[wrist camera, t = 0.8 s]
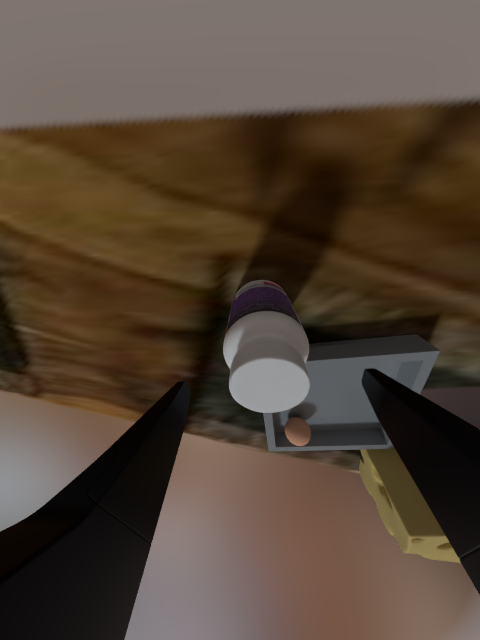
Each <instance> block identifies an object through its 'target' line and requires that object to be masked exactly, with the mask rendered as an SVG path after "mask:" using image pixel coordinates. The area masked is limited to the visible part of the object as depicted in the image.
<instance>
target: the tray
mask: <svg viewBox="0 0 480 640" xmlns="http://www.w3.org/2000/svg"><path fill="white" fill-rule="evenodd" d="M439 353H440V350H439V349H437V348H436V347H434V346H433V345H431V344H430V343H428V342H427V341H425V340H424V339H423V338H421V337H420V336H418V335H417V334H412V335H401V336H390V337H379V338H368V339H357V340H346V341H335V342H324V343H312V344H309V355H308V358H307V361H306V363H305V365H306V369H307V372H308V376H309V379H310V388H309V392H308V394H307V396H306V397H305V399H304V400H303V401H302V402H301V403H299V404H298V405H296V406H295V407H293V408H291V409H288V410H285V411H281V412H274V413H263V415H264V421H265V428H266V435H267V442H268V448H269V451H309V450H357V449H394V446H393V444H392V443H391V441H390V439H389V438H388V436H387V434H386V432H385V431H384V429H383V427H382V426H381V424H380V422H379V420H378V418H377V417H376V414H375V412H374V410H373V408H372V406H371V404H370V401H369V399H368V397H367V395H366V393H365V390H364V388H363V386H362V377H363V372H364V370H365V369H368V368H375V369H377V370H379V371H380V372H382V373H384V374H386V375H387V376H389V377H391V378H392V379H394V380H396V381H398V382H399V383H401V384H403V385H404V386H406V387H408V388H410V389H411V390H413V391H415V392H416V393H418V394H420V393H421V391H422V389H423V386H424V384H425V382H426V380H427V378H428V376H429V374H430V372H431V369H432V367H433V365H434V363H435V361H436V359H437V357H438V355H439ZM292 417H300V418H302V419H304V420H305V421H306V422H307V423H308V425H309V427H310V429H311V438H310V440H309V442H308V443H307V444H306V445H304V446H296V445H294V444H292V443H291V442H290V441H289V440H288V438H287V436H286V434H285V424H286V422H287V421H288V420H289V419H290V418H292Z"/></svg>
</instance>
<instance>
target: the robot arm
mask: <svg viewBox="0 0 480 640" xmlns="http://www.w3.org/2000/svg"><path fill="white" fill-rule="evenodd" d="M362 386H363V388H364V390H365V393H366V395H367V397H368V399H369V401H370V404H371V406H372V408H373V410H374V412H375V414H376V417H377V418H378V420H379V422H380V424H381V426H382V427H383V429H384V431H385V432H386V434H387V436H388V438H389V439H390V441H391V443H392V444H393V446H394V448H395V450H396V451H397V453H398V455H399V456H400V458H401V460H402V462H403V463H404V465H405V467H406V469H407V470H408V472H409V474H410V475H411V477H412V479H413V481H414V482H415V484H416V486H417V487H418V489H419V491H420V493H421V494H422V496H423V498H424V499H425V501H426V503H427V505H428V506H429V508H430V510H431V512H432V513H433V515H434V517H435V518H436V520H437V522H438V524H439V525H440V527H441V529H442V530H443V532H444V534H445V536H446V537H447V539H448V541H449V542H450V544H451V546H452V548H453V549H454V551H455V553H456V555H457V556H458V558H460V562H461V563H462V565H463V567H464V569H465V570H466V572H467V574H468V575H469V577H470V579H471V580H472V582H473V584H474V586H475V588H476V589H477V591H478V593H479V594H480V430H479V429H478V428H476V427H475V426H473V425H471V424H470V423H468V422H466V421H464V420H463V419H461V418H459V417H458V416H456V415H454V414H452V413H451V412H449V411H447V410H445V409H444V408H442V407H440V406H439V405H437V404H435V403H434V402H432V401H430V400H428V399H427V398H425V397H423V396H422V395H420V394H418V393H416V392H415V391H413V390H411V389H410V388H408V387H406V386H404V385H403V384H401V383H399V382H398V381H396V380H394V379H392V378H391V377H389V376H387V375H386V374H384V373H382V372H380V371H379V370H377V369H375V368H368V369H365V370H364V372H363V377H362ZM189 401H190V390H189V388H188V385H187V383H186V382H185V381H181V382H177V383H176V384H175V385H174V386H173V387H172V388H171V389H170V390H169V391H168V392H167V393H166V394H165V395H164V396H163V397H162V398H161V399H159V400H158V401H157V402H156V403H155V404H154V405H153V406H152V407H151V408H150V409H149V410H148V411H147V412H146V413H145V414H144V415H143V416H142V417H141V418H140V419H139V420H138V421H137V422H136V423H135V424H134V425H133V426H132V427H130V428H129V429H128V430H127V431H126V432H125V433H124V434H123V435H122V436H121V437H120V438H119V439H118V440H117V441H116V442H115V443H114V444H113V445H112V446H111V447H110V448H109V449H108V450H107V451H105V452H104V453H103V454H102V455H101V456H100V457H99V458H98V459H97V460H96V461H95V462H94V463H92V464H91V465H90V466H89V467H88V468H87V469H86V470H84V471H83V472H82V473H81V474H80V475H79V476H77V477H76V478H75V479H74V480H73V481H72V482H71V483H69V484H68V485H67V486H66V487H65V488H64V489H63V490H61V491H60V492H59V493H58V494H57V495H55V496H54V497H53V498H52V499H51V500H50V501H48V502H47V503H46V504H45V505H44V506H42V507H41V508H40V509H39V510H37V511H36V512H35V513H33V514H32V515H30V516H29V517H27V518H25V519H24V520H22V521H20V522H19V523H17V524H15V525H13V526H11V527H9V528H7V529H5V530H3V531H1V532H0V640H124V638H125V635H126V631H127V628H128V624H129V621H130V617H131V614H132V610H133V606H134V603H135V599H136V596H137V593H138V589H139V585H140V582H141V579H142V575H143V571H144V568H145V565H146V561H147V557H148V554H149V551H150V547H151V542H152V540H153V536H154V532H155V529H156V526H157V522H158V518H159V515H160V511H161V508H162V504H163V501H164V497H165V494H166V490H167V486H168V483H169V480H170V476H171V473H172V469H173V465H174V462H175V459H176V455H177V452H178V448H179V445H180V441H181V437H182V434H183V431H184V427H185V423H186V417H187V412H188V406H189Z"/></svg>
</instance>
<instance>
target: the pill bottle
mask: <svg viewBox="0 0 480 640" xmlns="http://www.w3.org/2000/svg"><path fill="white" fill-rule="evenodd" d="M223 353H224V358H225V361H226V363H227V365H228V366H229V368H230V379H229V389H230V392H231V394H232V396H233V398H234V399H235V400H236V401H237V402H238V403H239V404H241V405H242V406H244V407H246V408H248V409H250V410H253V411H257V412H262V413H274V412H281V411H285V410H288V409H291V408H293V407H295V406H296V405H298V404H299V403H301V402H302V401H303V400H304V399H305V397H306V396H307V394H308V392H309V388H310V379H309V376H308V372H307V369H306V365H305V363H306V361H307V358H308V355H309V342H308V338H307V335H306V333H305V331H304V329H303V327H302V325H301V323H300V321H299V319H298V317H297V314H296V312H295V310H294V308H293V306H292V304H291V302H290V300H289V298H288V296H287V294H286V293H285V291H284V290H283V289H282V288H281V287H280V286H279V285H277V284H276V283H274V282H271V281H268V280H256V281H252V282H249V283H247V284H245V285H244V286H242V287H241V288H240V289H239V290H238V292H237V293H236V295H235V297H234V299H233V302H232V306H231V311H230V316H229V321H228V326H227V330H226V335H225V339H224V345H223Z"/></svg>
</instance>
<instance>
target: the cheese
mask: <svg viewBox="0 0 480 640" xmlns="http://www.w3.org/2000/svg"><path fill="white" fill-rule="evenodd" d="M361 454H362V457H363V458H361V459H360V465H359V470H360V474H361V477H362V480H363V482H364V484H365V486H366V488H367V490H368V492H369V493H370V495H372V496H373V497H374V499H375V502H376V504H377V507H378V511H379V514H380V516H381V518H382V520H383V523H384V525H385V527H386V528H387V530H388V531H389V533H390V534H391V535H392V536H395V537H396V539H397V541H398V543H399V545H400V547H401V550H402V551H403V552H404V553H410V554H419V555H420V556H423V557H425V558H426V559H433V560H443V561H450V562H458V563H461V562H460V558H458V556H457V555H456V553H455V551H454V549H453V548H452V546H451V544H450V542H449V541H448V539H447V537H446V536H445V534H444V532H443V530H442V529H441V527H440V525H439V524H438V522H437V520H436V518H435V517H434V515H433V513H432V512H431V510H430V508H429V506H428V505H427V503H426V501H425V499H424V498H423V496H422V494H421V493H420V491H419V489H418V487H417V486H416V484H415V482H414V481H413V479H412V477H411V475H410V474H409V472H408V470H407V469H406V467H405V465H404V463H403V462H402V460H401V458H400V456H399V455H398V453H397V451H396V450H395V448H394V449H361Z"/></svg>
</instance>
